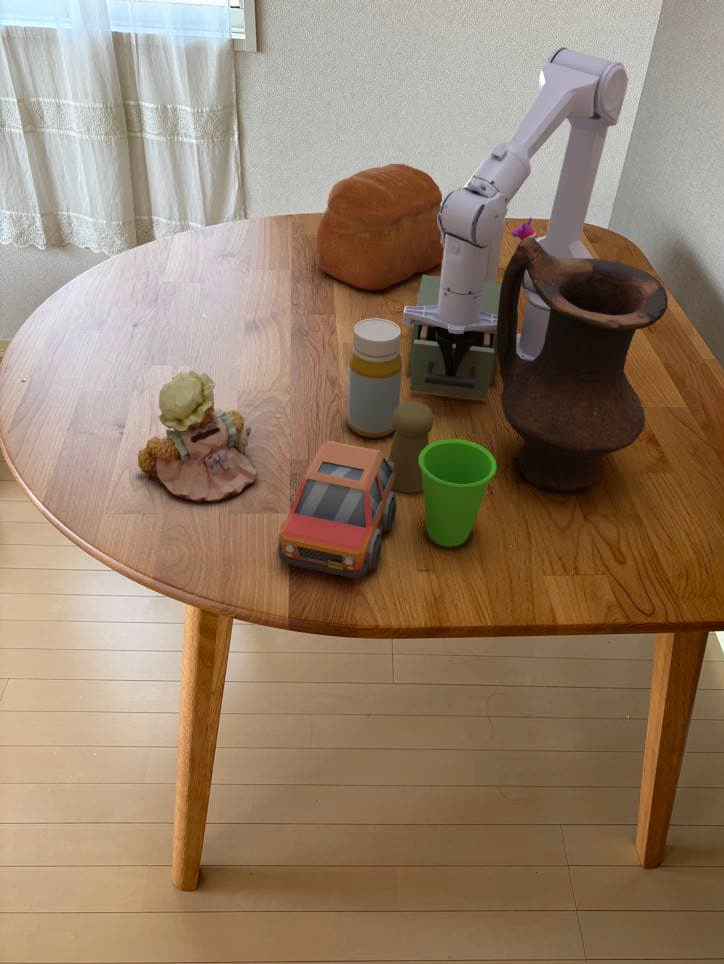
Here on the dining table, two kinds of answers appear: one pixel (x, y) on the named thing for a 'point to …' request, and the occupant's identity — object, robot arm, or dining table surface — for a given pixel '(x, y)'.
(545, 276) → the jug
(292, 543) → the toy car
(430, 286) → the cabinet
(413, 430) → the pepper shaker
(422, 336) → the drawer
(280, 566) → the dining table surface
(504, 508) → the dining table surface
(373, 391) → the bottle
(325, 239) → the bread
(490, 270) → the energy drink can
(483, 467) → the cup
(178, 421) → the figurine
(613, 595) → the dining table surface
